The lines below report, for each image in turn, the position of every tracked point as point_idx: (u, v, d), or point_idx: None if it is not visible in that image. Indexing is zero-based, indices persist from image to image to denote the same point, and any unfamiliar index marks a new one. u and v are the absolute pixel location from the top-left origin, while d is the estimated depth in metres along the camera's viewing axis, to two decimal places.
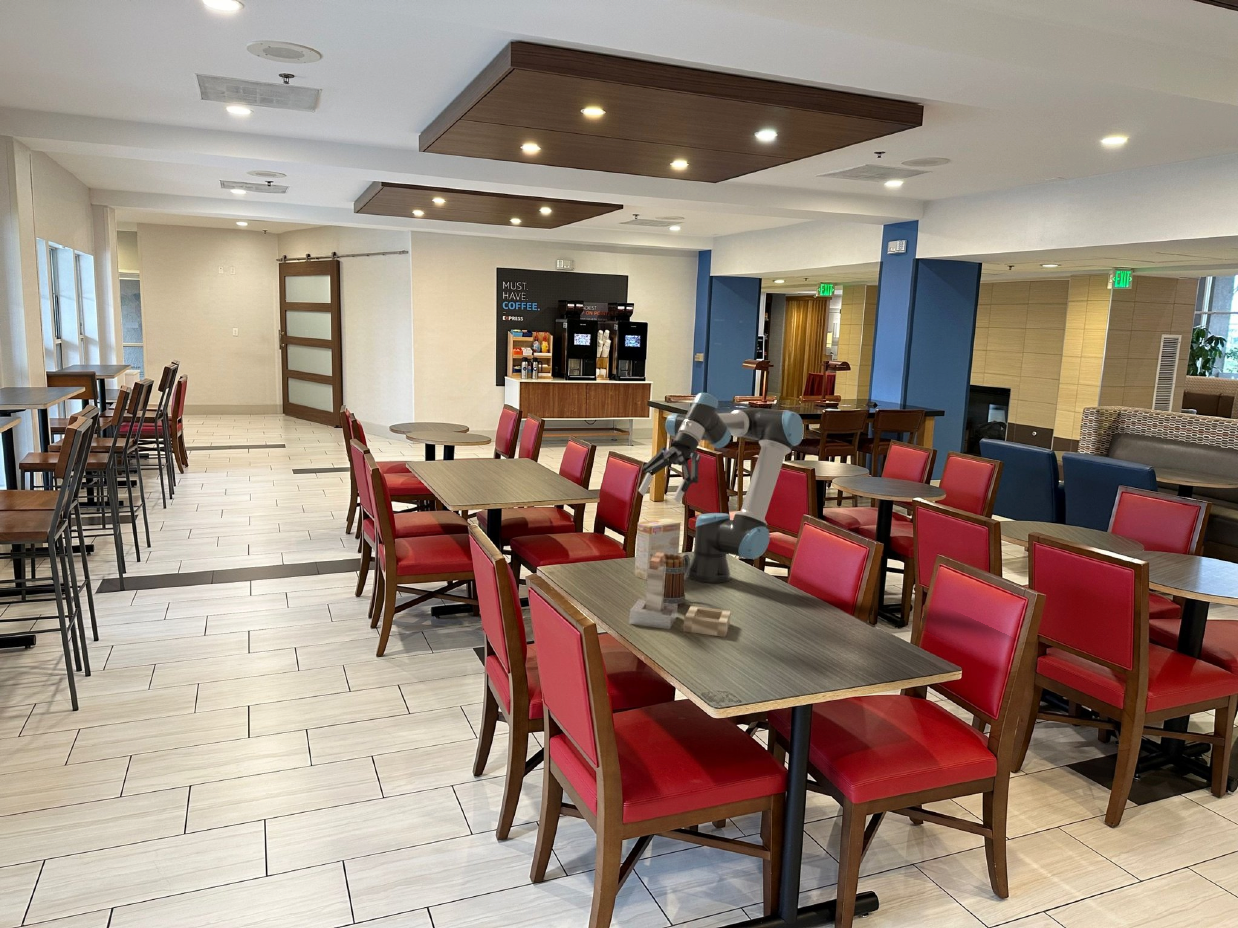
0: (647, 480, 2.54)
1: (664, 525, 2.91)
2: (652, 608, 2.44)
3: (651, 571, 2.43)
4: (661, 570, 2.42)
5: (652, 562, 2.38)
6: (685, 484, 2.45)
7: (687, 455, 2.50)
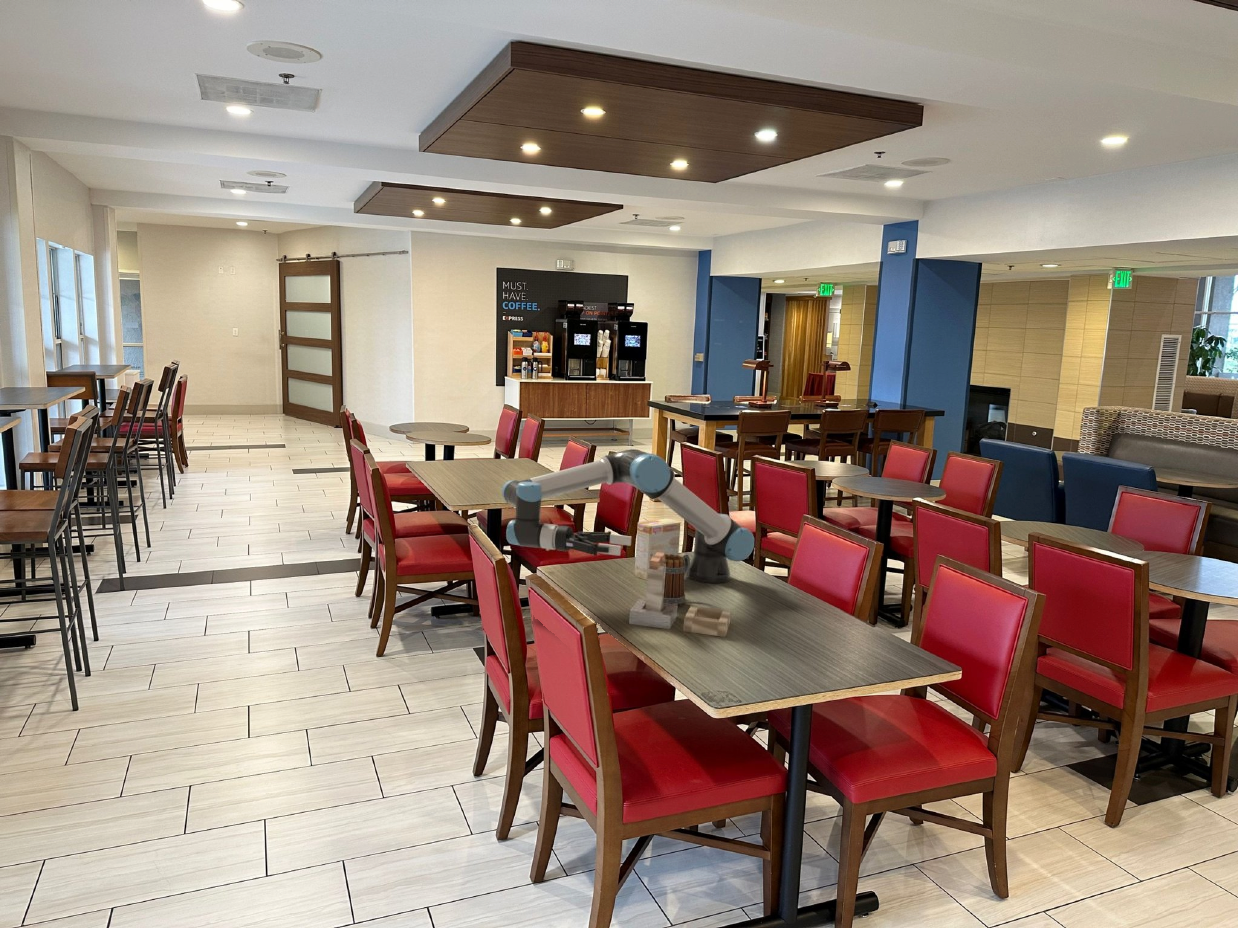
0: (616, 541, 2.53)
1: (664, 525, 2.90)
2: (652, 608, 2.44)
3: (651, 571, 2.43)
4: (661, 570, 2.42)
5: (652, 562, 2.38)
6: None
7: None
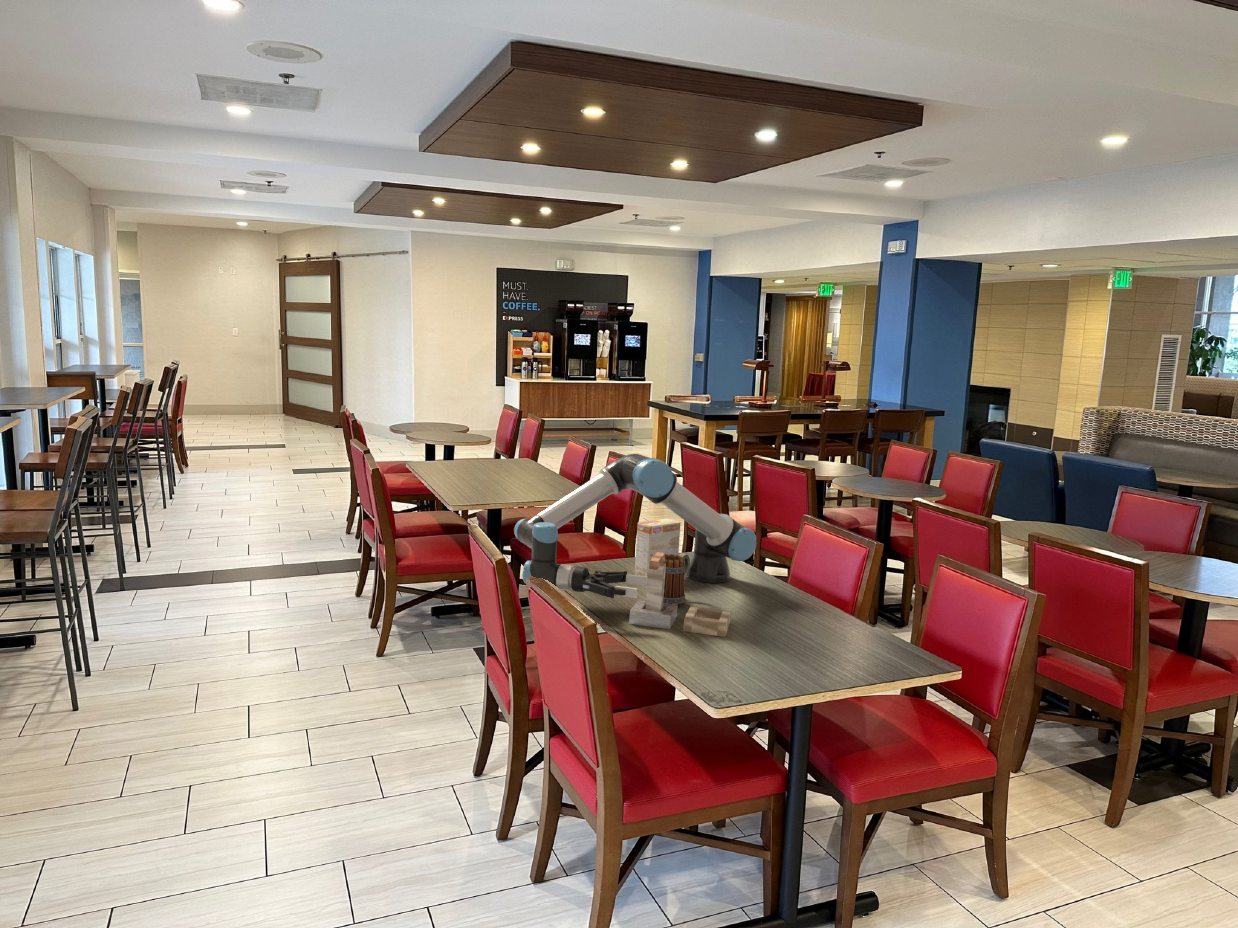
0: (632, 581, 2.53)
1: (664, 525, 2.91)
2: (652, 608, 2.44)
3: (651, 571, 2.43)
4: (661, 570, 2.42)
5: (652, 562, 2.38)
6: None
7: None
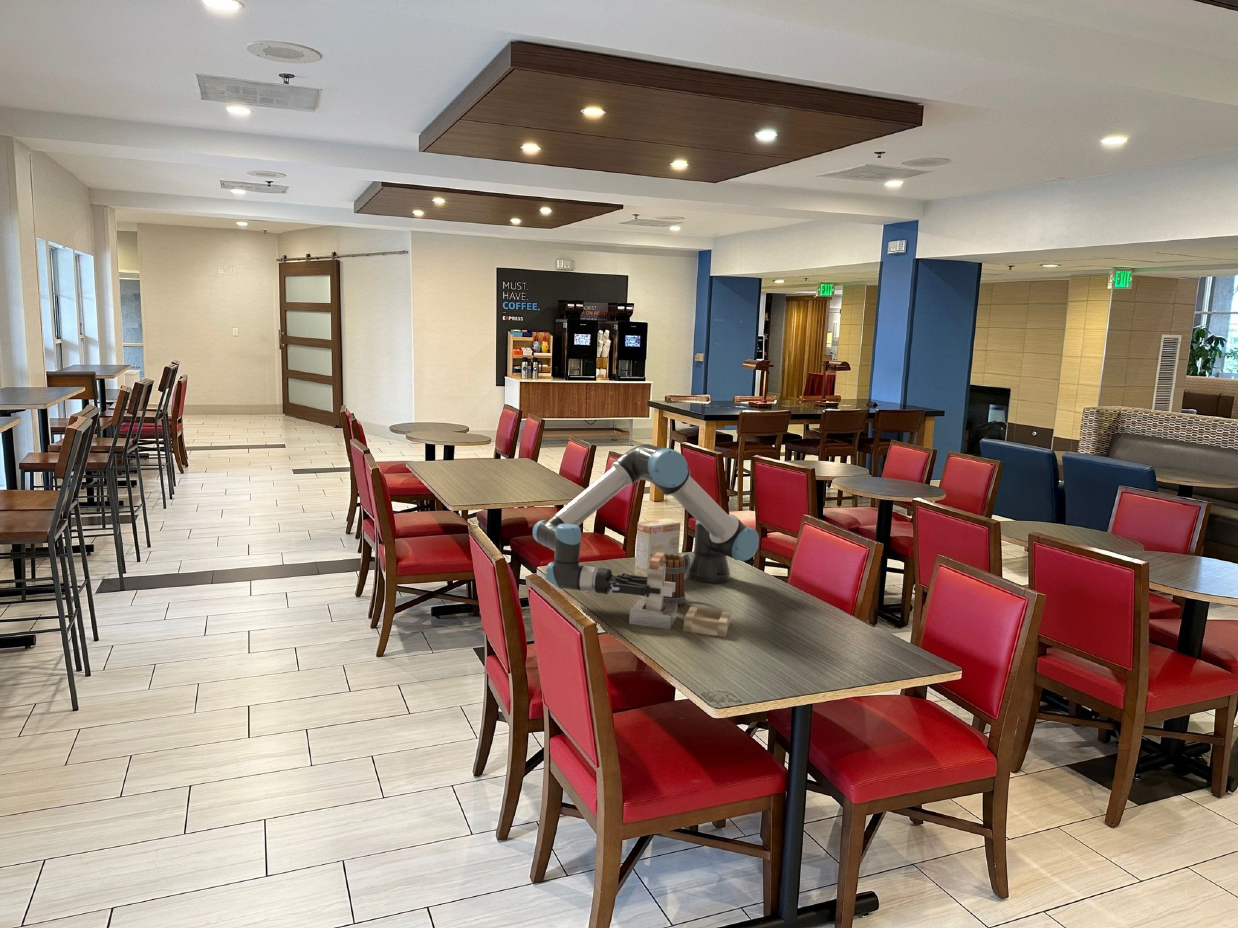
0: None
1: (664, 525, 2.91)
2: (652, 608, 2.44)
3: (651, 571, 2.43)
4: (661, 570, 2.42)
5: (652, 562, 2.38)
6: None
7: None
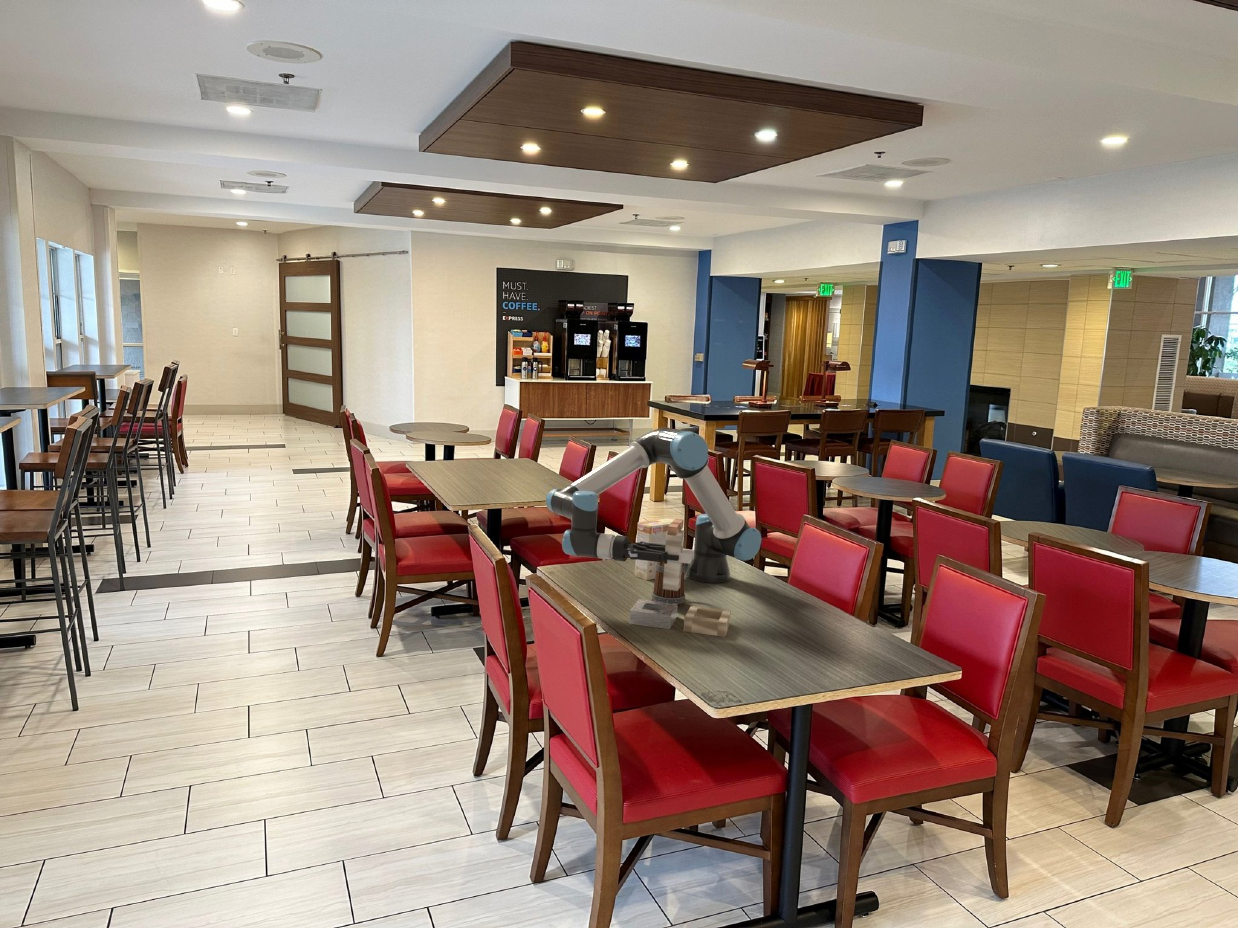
0: None
1: (664, 525, 2.91)
2: (670, 575, 2.41)
3: (669, 537, 2.40)
4: (679, 536, 2.39)
5: (670, 528, 2.35)
6: None
7: None
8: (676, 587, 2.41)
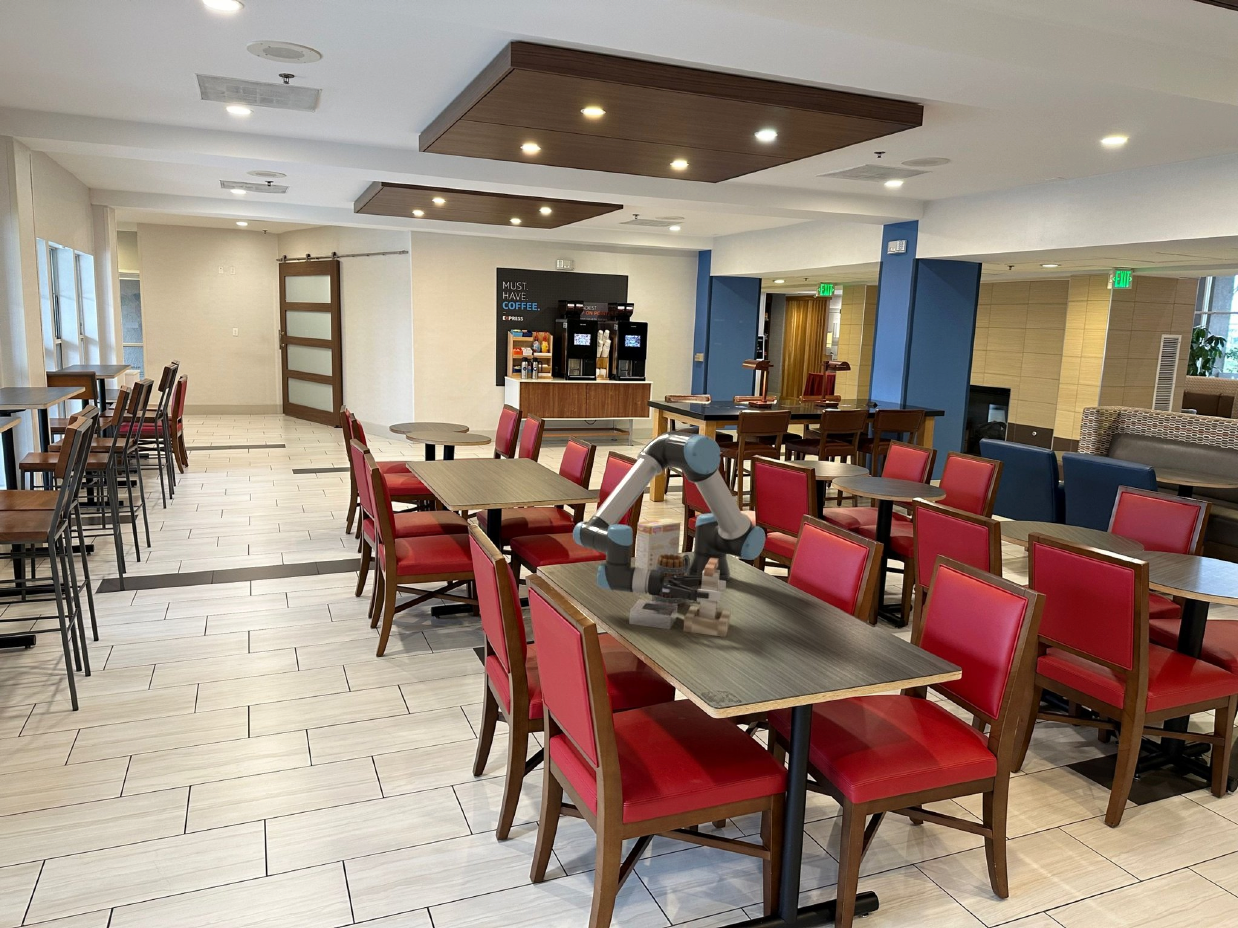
0: None
1: (664, 525, 2.91)
2: (706, 615, 2.40)
3: (705, 577, 2.39)
4: (715, 577, 2.38)
5: (707, 569, 2.35)
6: None
7: None
8: None
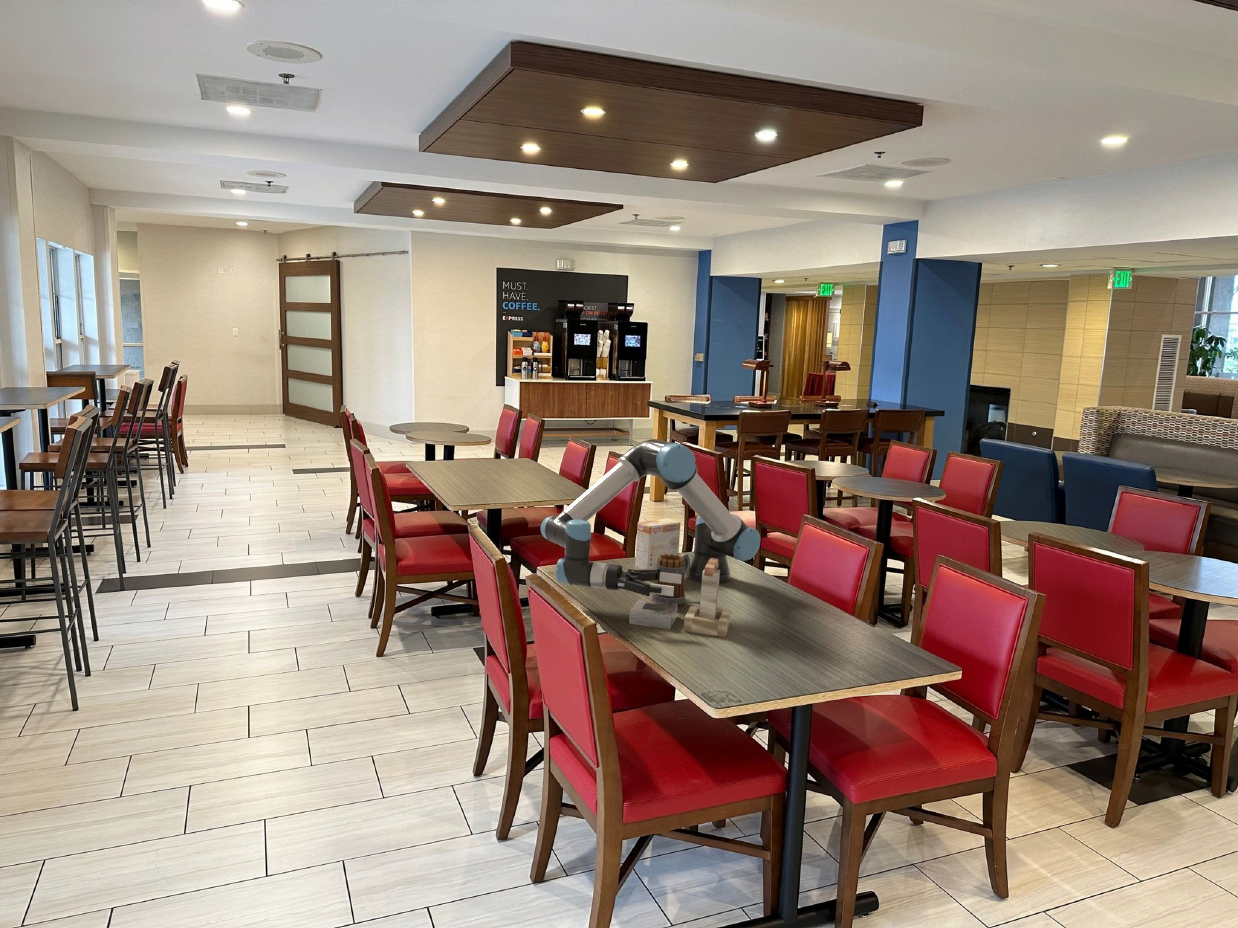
0: (666, 579, 2.51)
1: (664, 525, 2.91)
2: (706, 615, 2.40)
3: (705, 577, 2.39)
4: (716, 577, 2.38)
5: (707, 569, 2.35)
6: None
7: None
8: None
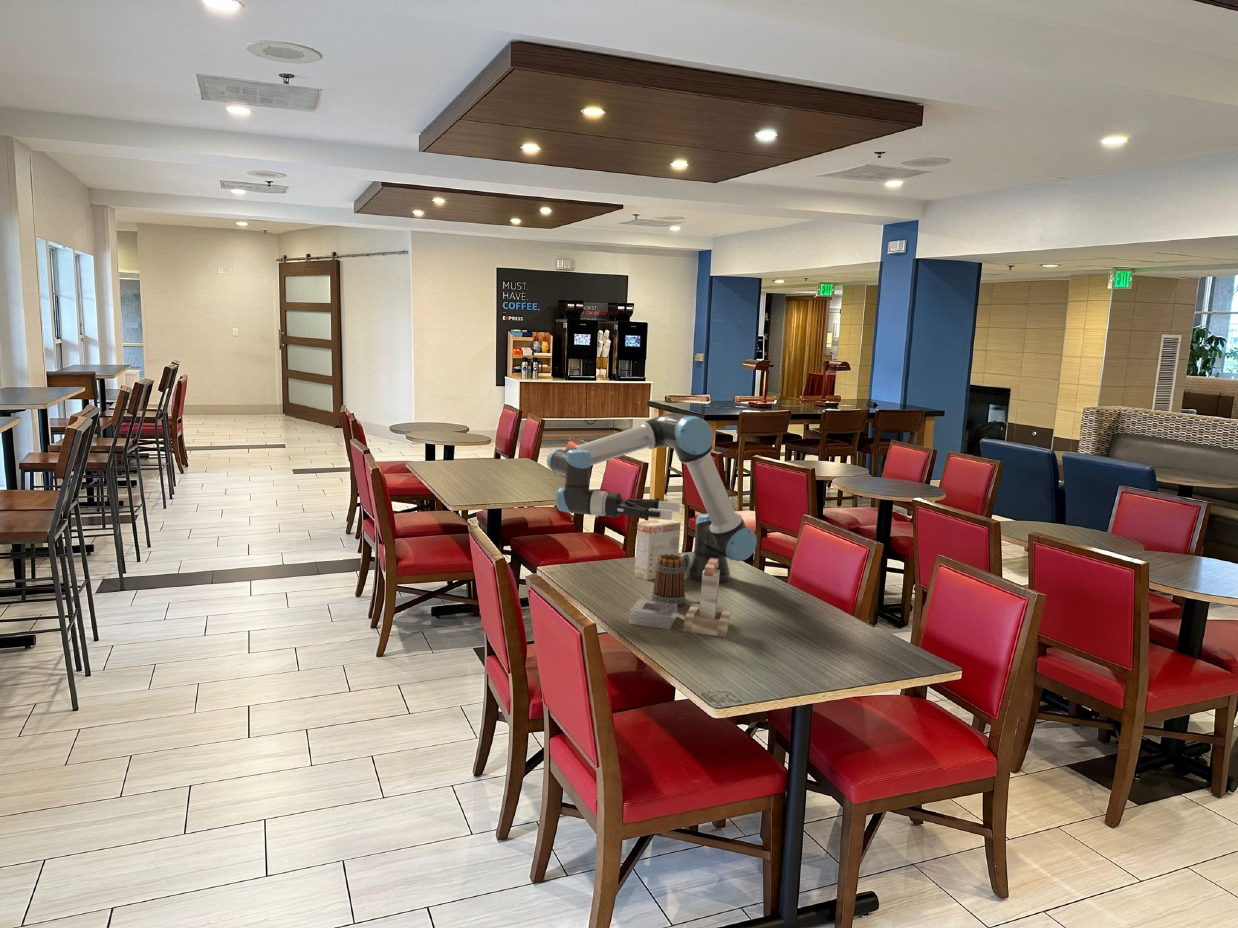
0: (665, 507, 2.56)
1: (664, 525, 2.90)
2: (706, 615, 2.40)
3: (705, 577, 2.39)
4: (716, 577, 2.38)
5: (707, 569, 2.35)
6: None
7: None
8: None
